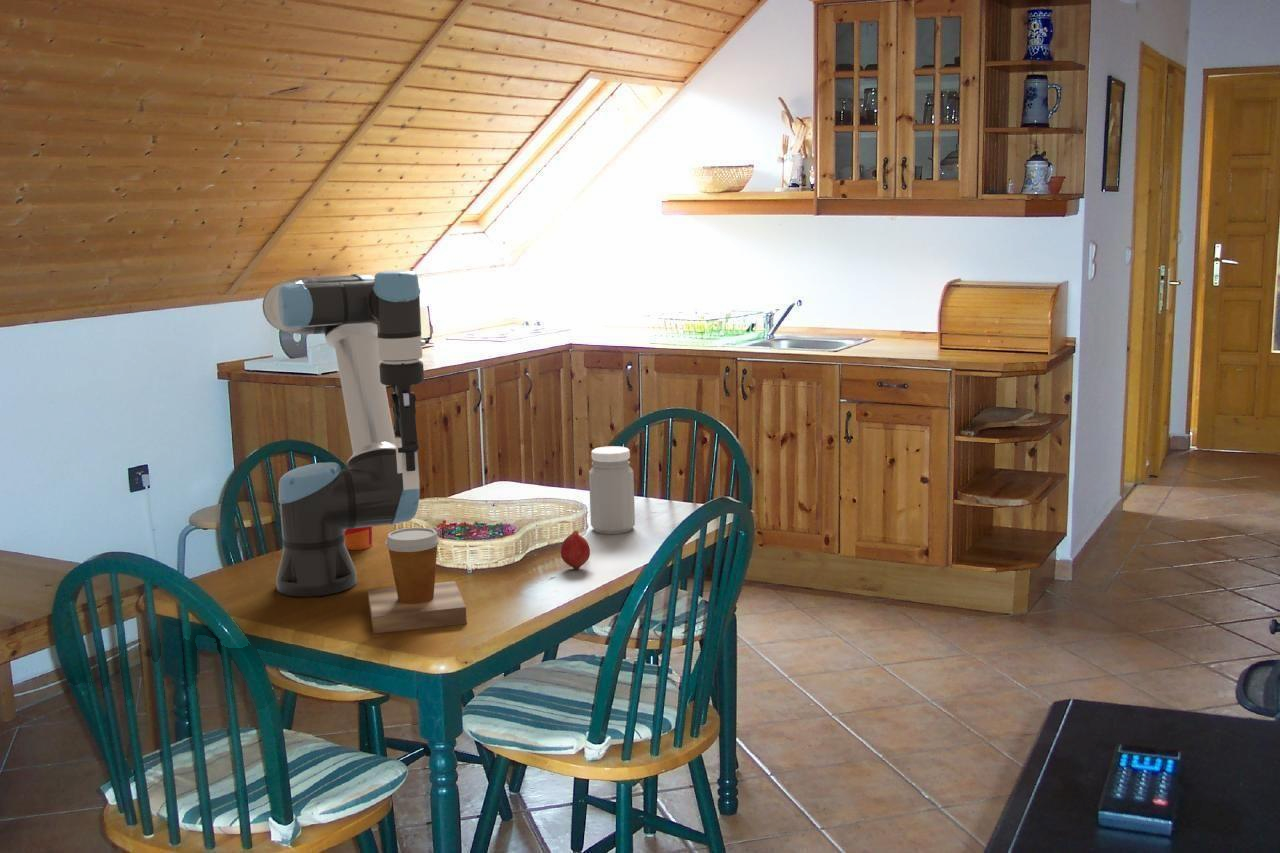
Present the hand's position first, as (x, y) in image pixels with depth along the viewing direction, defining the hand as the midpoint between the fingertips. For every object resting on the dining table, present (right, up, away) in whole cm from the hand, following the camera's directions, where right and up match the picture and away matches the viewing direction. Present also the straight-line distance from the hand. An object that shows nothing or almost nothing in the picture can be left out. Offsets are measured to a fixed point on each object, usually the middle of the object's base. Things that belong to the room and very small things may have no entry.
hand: (408, 480), depth 229 cm
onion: (+28, -19, +30) cm, 45 cm away
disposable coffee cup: (+1, -21, +4) cm, 22 cm away
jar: (+35, -13, +59) cm, 70 cm away
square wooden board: (+1, -24, +4) cm, 25 cm away
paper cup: (-20, -16, +50) cm, 56 cm away
